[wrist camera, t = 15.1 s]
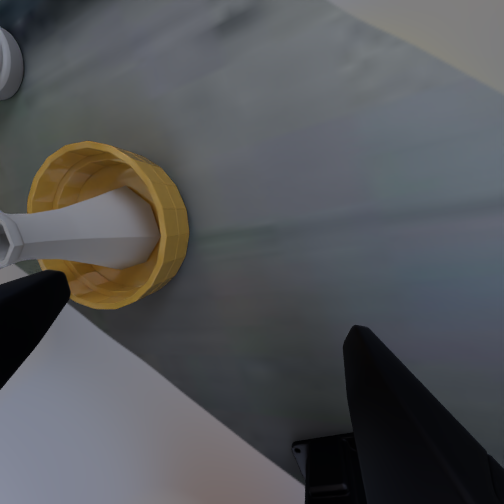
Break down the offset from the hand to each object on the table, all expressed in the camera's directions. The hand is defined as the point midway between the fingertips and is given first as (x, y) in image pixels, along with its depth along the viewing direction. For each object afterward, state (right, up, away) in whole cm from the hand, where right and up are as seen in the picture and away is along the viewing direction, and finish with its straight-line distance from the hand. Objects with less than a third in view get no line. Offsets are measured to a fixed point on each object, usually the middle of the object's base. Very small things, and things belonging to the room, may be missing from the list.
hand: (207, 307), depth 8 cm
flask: (-10, +4, +15) cm, 19 cm away
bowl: (-10, +4, +15) cm, 19 cm away
